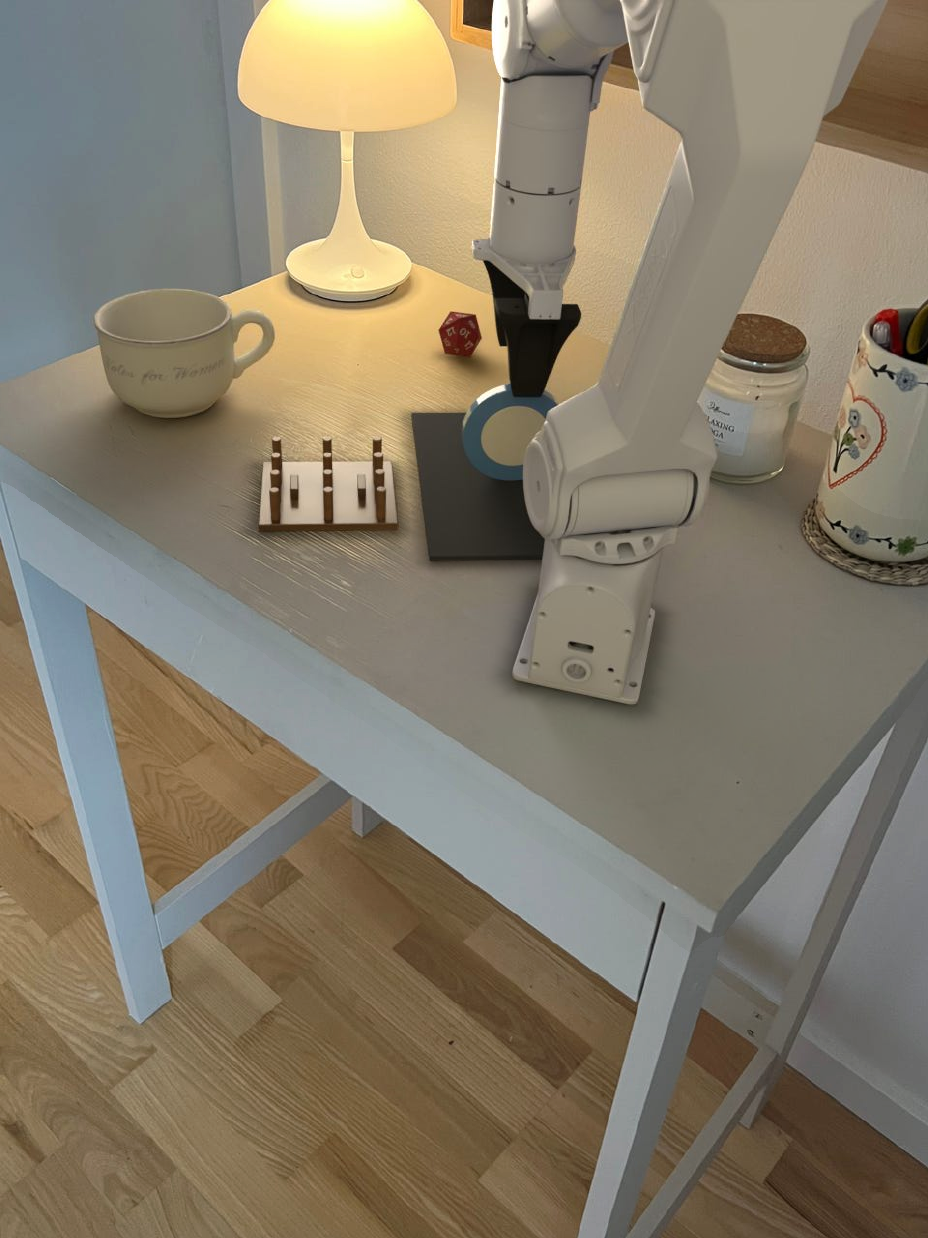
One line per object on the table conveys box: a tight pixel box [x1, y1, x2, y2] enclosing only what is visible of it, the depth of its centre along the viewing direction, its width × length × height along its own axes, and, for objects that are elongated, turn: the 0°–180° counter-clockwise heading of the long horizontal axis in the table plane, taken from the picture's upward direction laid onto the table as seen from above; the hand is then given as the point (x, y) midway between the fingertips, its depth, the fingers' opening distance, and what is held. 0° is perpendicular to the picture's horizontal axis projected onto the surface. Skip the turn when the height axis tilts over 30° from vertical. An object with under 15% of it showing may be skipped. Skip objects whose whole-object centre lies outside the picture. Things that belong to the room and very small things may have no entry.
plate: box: [461, 383, 561, 481], centre depth 86 cm, size 1×8×8 cm, turn 95°
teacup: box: [93, 288, 276, 419], centre depth 93 cm, size 14×11×8 cm
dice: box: [438, 311, 483, 358], centre depth 103 cm, size 4×4×4 cm
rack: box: [258, 436, 399, 532], centre depth 84 cm, size 8×10×3 cm
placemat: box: [410, 412, 545, 562], centre depth 88 cm, size 20×14×1 cm
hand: (519, 368), depth 83 cm, fingers open, 7 cm apart
